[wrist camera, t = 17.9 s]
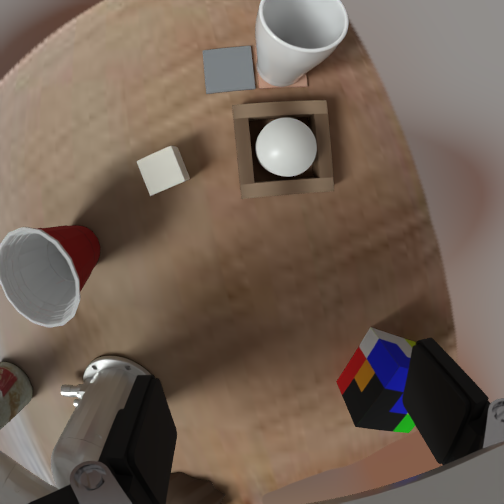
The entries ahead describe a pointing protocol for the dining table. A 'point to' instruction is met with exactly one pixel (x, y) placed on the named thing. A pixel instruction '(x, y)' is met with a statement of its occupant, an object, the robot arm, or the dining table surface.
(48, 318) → the plastic cup
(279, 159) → the dome button
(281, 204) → the dining table surface
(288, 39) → the drinking glass
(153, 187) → the white cube
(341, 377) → the puzzle toy
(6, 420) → the bottle
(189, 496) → the decorative dome
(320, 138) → the button frame
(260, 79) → the pad
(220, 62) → the pad mid
